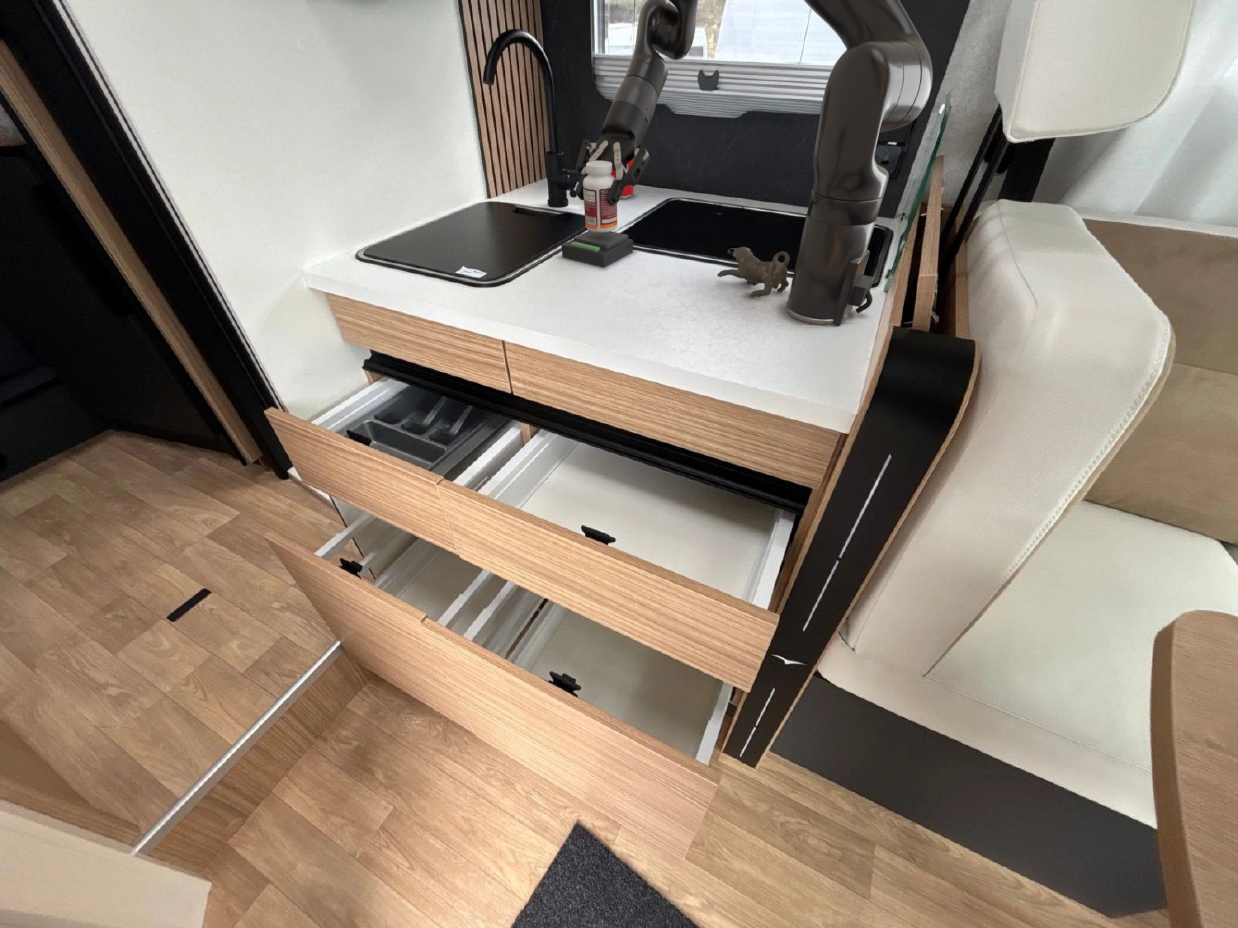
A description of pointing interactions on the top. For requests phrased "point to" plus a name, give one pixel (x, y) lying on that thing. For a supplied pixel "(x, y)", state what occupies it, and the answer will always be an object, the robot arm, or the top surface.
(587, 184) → the pill bottle
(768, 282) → the dog figurine
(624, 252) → the kitchen scale
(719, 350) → the top surface
